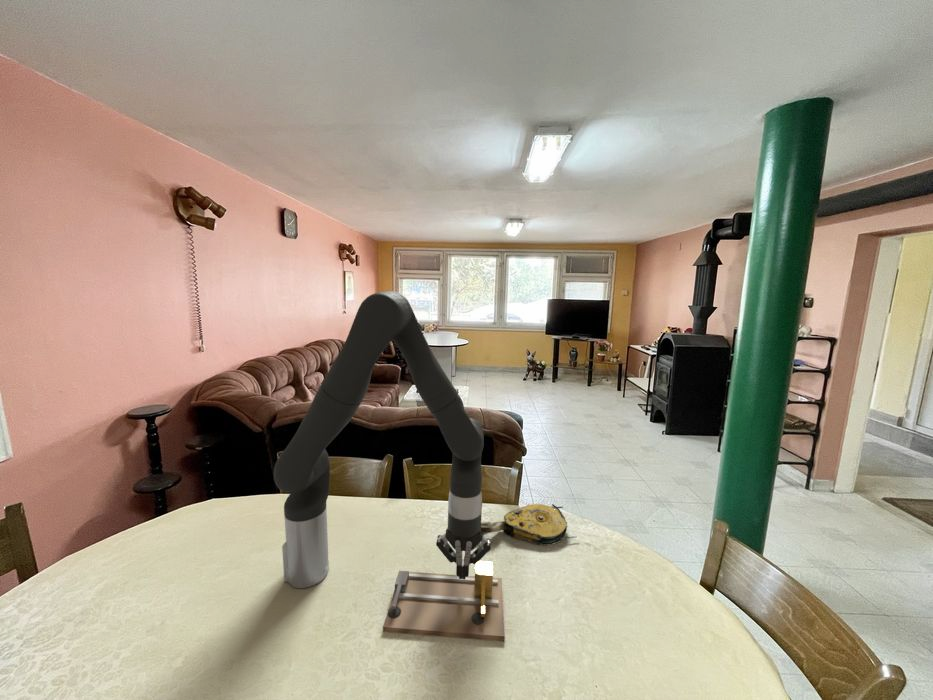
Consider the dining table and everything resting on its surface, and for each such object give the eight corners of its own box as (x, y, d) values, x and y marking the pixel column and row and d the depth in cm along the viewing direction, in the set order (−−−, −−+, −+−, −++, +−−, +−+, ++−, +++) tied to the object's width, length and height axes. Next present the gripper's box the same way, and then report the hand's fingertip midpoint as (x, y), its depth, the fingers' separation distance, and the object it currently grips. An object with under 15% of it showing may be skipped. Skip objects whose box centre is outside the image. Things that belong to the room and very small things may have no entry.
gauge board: (383, 631, 74) (382, 617, 74) (400, 575, 89) (400, 562, 88) (504, 641, 73) (505, 626, 72) (501, 582, 88) (502, 569, 87)
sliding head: (473, 620, 76) (474, 595, 75) (474, 583, 85) (475, 560, 84) (492, 622, 75) (493, 597, 74) (491, 584, 85) (492, 562, 84)
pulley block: (470, 501, 110) (562, 496, 115) (468, 516, 112) (560, 511, 116) (477, 538, 97) (582, 531, 101) (476, 555, 99) (578, 547, 103)
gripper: (433, 516, 77) (431, 587, 80) (494, 520, 76) (491, 592, 79) (437, 496, 84) (436, 562, 87) (494, 500, 84) (490, 566, 86)
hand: (462, 576), depth 83 cm, fingers closed
